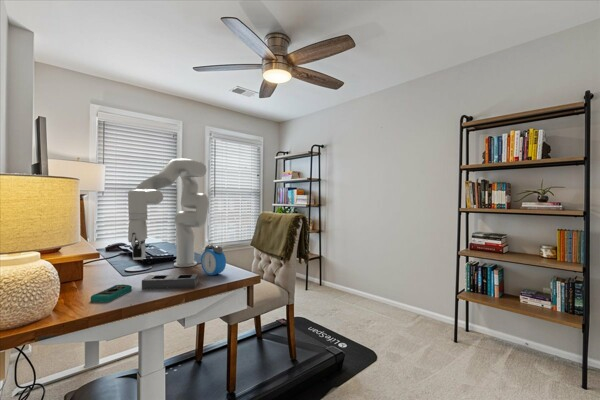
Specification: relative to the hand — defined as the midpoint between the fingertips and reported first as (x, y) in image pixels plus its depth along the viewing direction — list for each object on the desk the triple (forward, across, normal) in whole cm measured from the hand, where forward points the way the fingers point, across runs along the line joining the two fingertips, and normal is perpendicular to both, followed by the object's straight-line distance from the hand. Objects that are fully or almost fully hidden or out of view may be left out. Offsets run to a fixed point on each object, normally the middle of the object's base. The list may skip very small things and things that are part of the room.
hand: (139, 255), depth 133 cm
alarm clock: (+14, -11, +32) cm, 36 cm away
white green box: (+1, 0, 0) cm, 1 cm away
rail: (+13, +6, +16) cm, 21 cm away
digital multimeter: (+13, +17, -4) cm, 21 cm away
